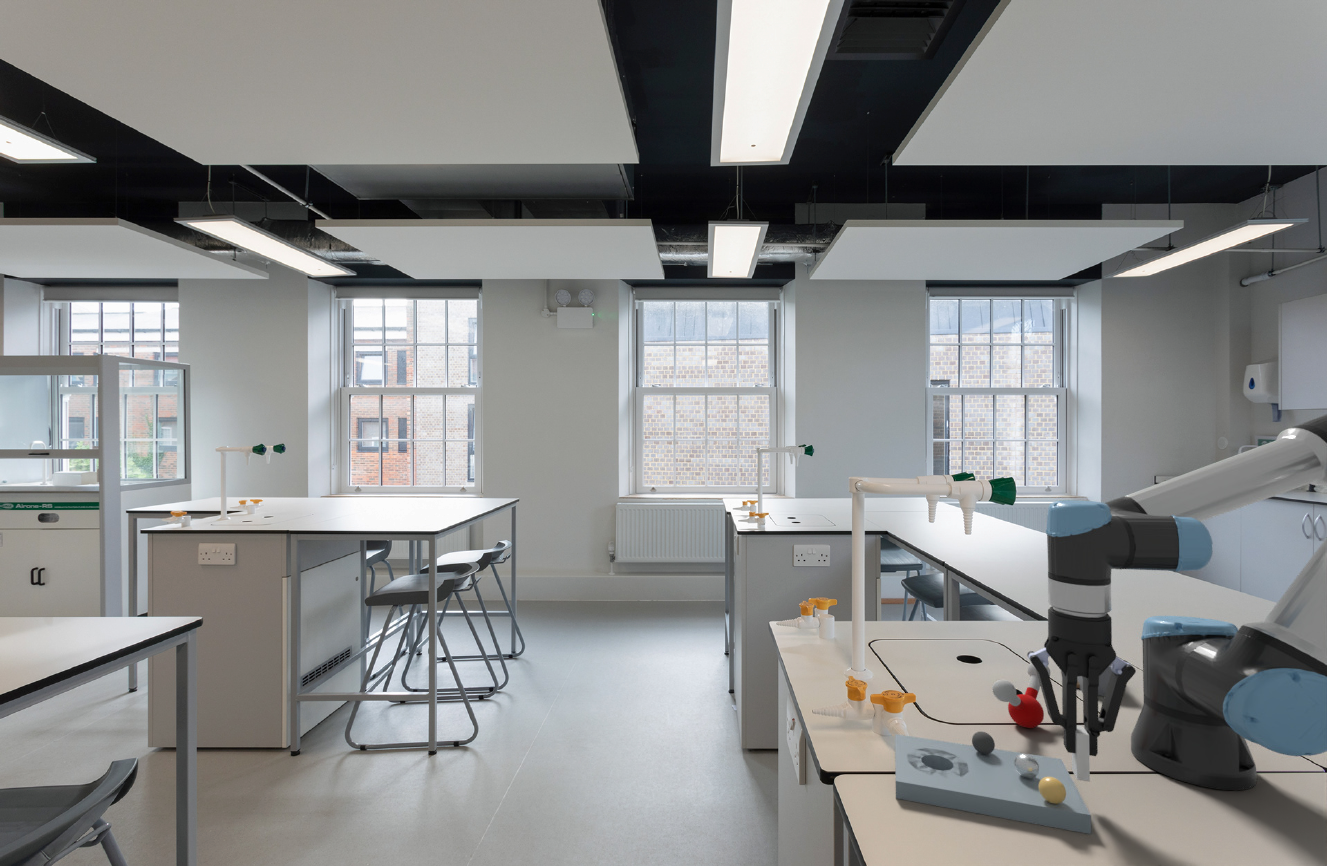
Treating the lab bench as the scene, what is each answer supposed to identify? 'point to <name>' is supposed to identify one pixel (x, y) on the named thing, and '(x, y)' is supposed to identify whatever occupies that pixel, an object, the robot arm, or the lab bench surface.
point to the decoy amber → (1052, 790)
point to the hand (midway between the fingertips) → (1080, 775)
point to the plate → (984, 783)
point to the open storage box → (1102, 681)
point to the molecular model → (1022, 700)
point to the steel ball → (1026, 766)
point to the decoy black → (983, 742)
